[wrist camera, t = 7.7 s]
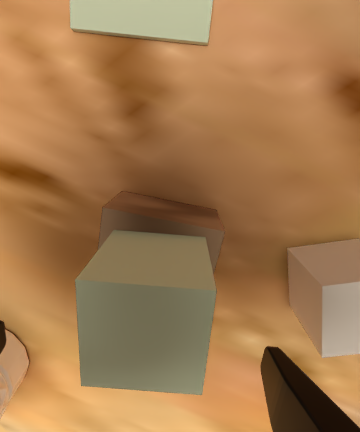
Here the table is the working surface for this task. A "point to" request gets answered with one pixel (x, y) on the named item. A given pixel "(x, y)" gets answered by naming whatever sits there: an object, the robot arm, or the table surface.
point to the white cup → (11, 369)
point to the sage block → (146, 313)
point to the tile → (144, 19)
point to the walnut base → (162, 220)
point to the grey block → (327, 294)
